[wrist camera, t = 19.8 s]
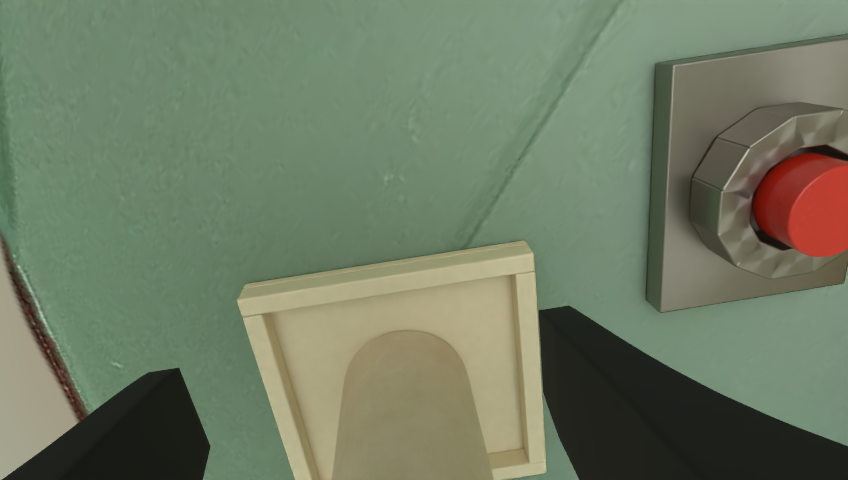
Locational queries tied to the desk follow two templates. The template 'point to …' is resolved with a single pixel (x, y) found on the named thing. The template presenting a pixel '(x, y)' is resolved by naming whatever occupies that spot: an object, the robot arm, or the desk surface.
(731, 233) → the button block
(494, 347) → the tray
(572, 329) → the robot arm
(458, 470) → the candle
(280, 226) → the desk surface
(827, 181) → the push button
